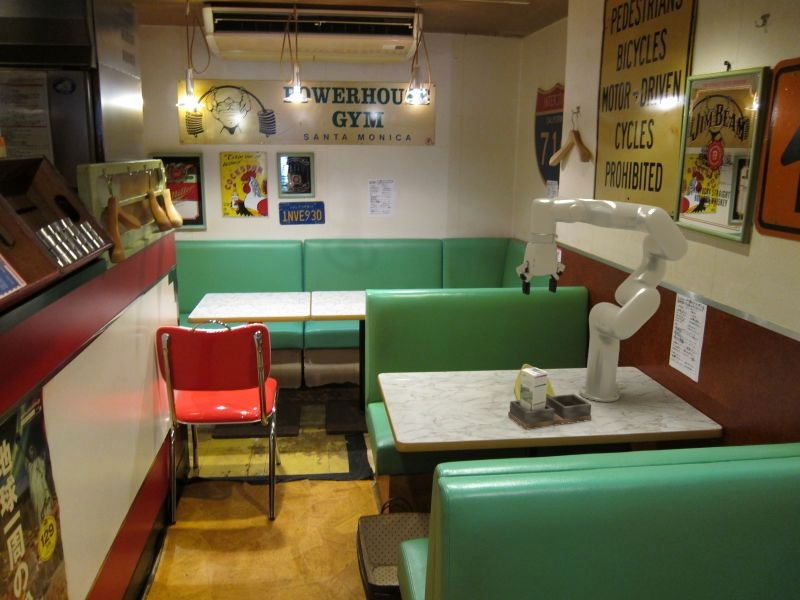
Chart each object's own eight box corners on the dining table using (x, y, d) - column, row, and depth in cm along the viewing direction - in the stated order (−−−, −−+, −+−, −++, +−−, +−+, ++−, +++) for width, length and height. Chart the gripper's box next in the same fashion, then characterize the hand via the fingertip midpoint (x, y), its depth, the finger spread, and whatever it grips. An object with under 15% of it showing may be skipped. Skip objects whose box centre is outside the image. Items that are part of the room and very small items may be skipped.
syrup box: (545, 417, 205) (549, 371, 201) (530, 421, 201) (534, 374, 198) (532, 411, 209) (535, 366, 206) (517, 414, 206) (520, 369, 203)
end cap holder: (572, 408, 216) (573, 393, 215) (591, 420, 207) (592, 404, 206) (508, 416, 208) (509, 401, 207) (524, 429, 199) (526, 413, 198)
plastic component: (557, 398, 218) (529, 384, 217) (545, 417, 220) (518, 403, 219) (546, 374, 237) (521, 361, 236) (535, 391, 239) (511, 378, 238)
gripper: (559, 236, 217) (555, 288, 221) (512, 238, 211) (509, 292, 215) (573, 239, 210) (569, 293, 214) (525, 241, 204) (521, 297, 208)
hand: (539, 292), depth 214 cm, fingers open, 9 cm apart
